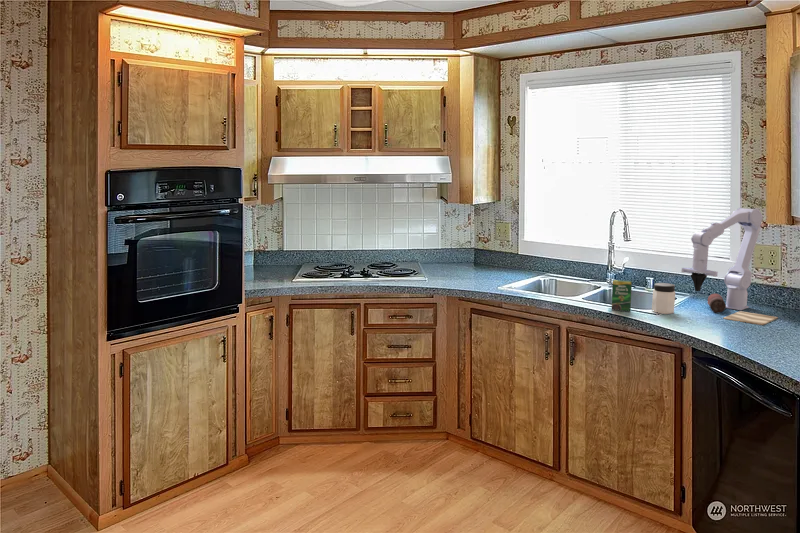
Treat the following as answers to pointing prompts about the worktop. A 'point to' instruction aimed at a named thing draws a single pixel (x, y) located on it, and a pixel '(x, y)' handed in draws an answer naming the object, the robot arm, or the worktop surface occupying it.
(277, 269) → the worktop surface
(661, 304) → the jar
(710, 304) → the can
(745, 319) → the wooden cutting board
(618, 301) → the green cardboard box
